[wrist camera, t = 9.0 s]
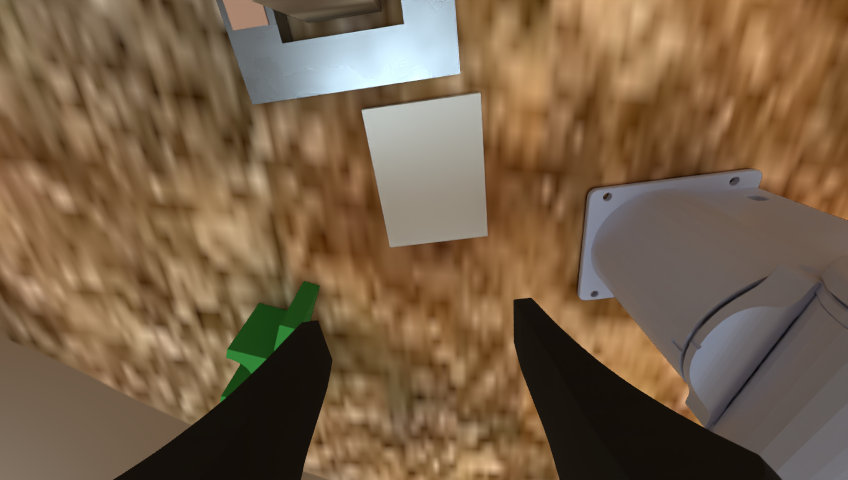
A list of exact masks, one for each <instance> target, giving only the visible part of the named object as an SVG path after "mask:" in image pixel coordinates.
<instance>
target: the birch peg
mask: <svg viewBox="0 0 848 480" xmlns="http://www.w3.org/2000/svg"><path fill="white" fill-rule="evenodd" d="M251 1H253V2H256V3H258V4H261V5H263V6H266V7H269V8H271V9H274V10H277V11H279V12H282V13H284V14H287V15H290V16H292V17H295V18H298V19H300V20H303V21H305V22H308V23H311V22H317V21H324V20H330V19H336V18H343V17H349V16H355V15H362V14H368V13H374V12H381V5H380V0H251Z"/></svg>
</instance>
